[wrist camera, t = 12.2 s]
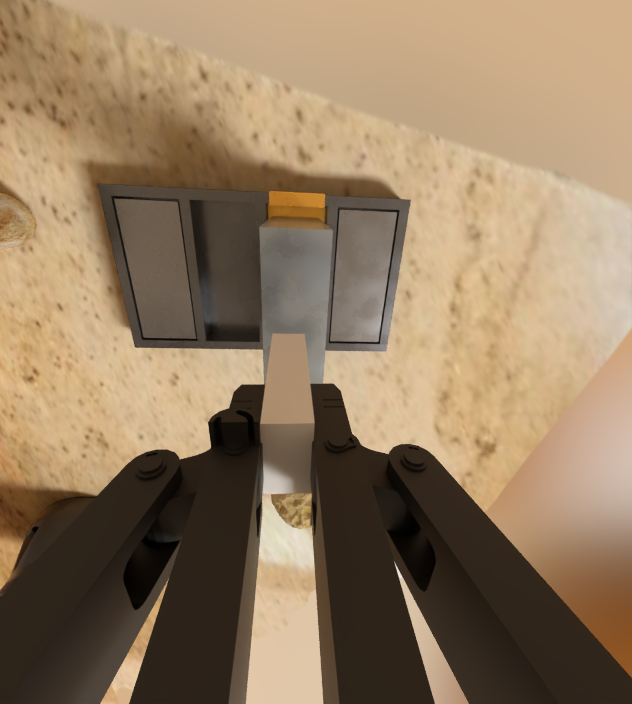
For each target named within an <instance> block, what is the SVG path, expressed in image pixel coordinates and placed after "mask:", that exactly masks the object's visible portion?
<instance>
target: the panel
mask: <svg viewBox="0 0 632 704" xmlns="http://www.w3.org/2000/svg"><path fill="white" fill-rule="evenodd" d="M259 233H260V265H261V297H262V329H263V361H264V385H265V384H266V377H267V370H268V362H269V355H270V348H271V340H272V333H279V334H305V341H306V350H307V359H308V368H309V377H310V384H323V376H324V361H325V345H326V330H327V315H328V299H329V284H330V269H331V254H332V238H333V230H332V229H331V228H330V227H329V226H327V225H326V224H325V223H324V222H323V221H322V220H320V219H319V218H311V217H290V216H272V217H271V218H270V219H269V220H267V221H266V222H265V223H264V224H262V225H261V226H260V227H259Z"/></svg>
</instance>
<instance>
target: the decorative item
mask: <svg viewBox="0 0 632 704" xmlns="http://www.w3.org/2000/svg"><path fill="white" fill-rule="evenodd" d="M271 497H272V503H273V505H274V506H275V509H276V510H277V512H278V513H279V515H280V516H281V517H282V519H283V520H284V521H285V522H286V523H287V524H288V525H291V526H292V527H294V528H298V529H304V528H308V527H309V528H312V526H310V517H311V499H312V494H311V493H291V494H271Z"/></svg>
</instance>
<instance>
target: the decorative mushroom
mask: <svg viewBox="0 0 632 704" xmlns="http://www.w3.org/2000/svg"><path fill="white" fill-rule="evenodd" d="M36 226H37V225H36V221H35V218H34V217H33V215H32V213H31V212H30V211H29V209H28V208H27V207H26V206H25V205H23V204H22V203H21V202H20V201H18V200H17V199H15V198H13V197H11V196H9V195H7V194H3V193H0V249H4V248H11V247H15V246H19V245H22V244H24V243H26V242H27V241H29V240H30V239H31V238H32V237H33V235H34V232H35V229H36Z"/></svg>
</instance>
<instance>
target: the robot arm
mask: <svg viewBox="0 0 632 704" xmlns="http://www.w3.org/2000/svg"><path fill="white" fill-rule="evenodd" d="M208 425H209V433H210V441H211V449H210V450H208V451H206V452H204V453H202V454H199V455H196V456H192V457H188V458H184V459H180V460H179V457H178V456H177V455H176V453H175V452H172V451H169V450H153V451H149V452H146V453H144V454H142V455H139V456H137V457H136V458H134V459H133V460H132V461H131V462H129V463H128V464H127V465H126V466H125V467H124V468H123V469H122V470H121V471H120V473H119V474H118V475H117V476H116V477H115V478H114V479H113V480H112V481H111V482H110V483H109V484H108V485H107V486H106V487H105V488H104V489H103V490H102V491H101V492H100V494H99V495H98V496H97V497H96V498H85V497H81V498H70V499H65V500H61V501H58V502H56V503H53V504H51V505H50V506H48V507H47V508H46V509H45V510H44V511H43V512H42V513H41V514H40V515H39V517H38V518H37V519H36V520H35V522H34V523H33V524H32V525H31V527H30V529H29V530H28V532H27V535H26V538H25V540H24V542H23V545H22V547H21V550H20V553H19V555H18V558H17V560H16V563H15V565H14V568H13V570H12V573H11V575H10V577H9V579H8V581H7V582H6V584H5V585H4V586H3V588H2V589H1V590H0V704H100V703H101V701H102V699H103V697H104V695H105V694H106V692H107V690H108V688H109V686H110V685H111V683H112V681H113V679H114V677H115V675H116V674H117V672H118V670H119V668H120V666H121V664H122V663H123V661H124V659H125V657H126V655H127V653H128V652H129V650H130V648H131V646H132V644H133V643H134V641H135V639H136V637H137V635H138V633H139V632H140V630H141V628H142V626H143V624H144V622H145V621H146V619H147V617H148V615H149V613H150V612H151V610H152V608H153V606H154V604H155V602H156V601H157V599H158V597H159V595H160V593H161V591H162V590H163V588H164V586H165V584H166V582H167V581H168V579H169V581H168V584H167V587H166V590H165V593H164V596H163V599H162V602H161V606H160V609H159V612H158V615H157V618H156V621H155V624H154V628H153V631H152V634H151V637H150V640H149V643H148V646H147V649H146V653H145V656H144V659H143V662H142V665H141V668H140V671H139V675H138V678H137V681H136V684H135V687H134V690H133V693H132V696H131V700H130V703H129V704H246V692H247V681H248V670H249V658H250V647H251V636H252V624H253V613H254V601H255V590H256V578H257V567H258V555H259V544H260V532H261V521H262V492H263V494H291V493H311V494H312V499H311V517H310V526H312V532H313V548H314V563H315V579H316V594H317V609H318V625H319V641H320V656H321V671H322V687H323V703H324V704H435V703H434V699H433V696H432V692H431V689H430V685H429V682H428V678H427V675H426V671H425V668H424V664H423V661H422V657H421V654H420V651H419V647H418V643H417V640H416V636H415V633H414V629H413V626H412V622H411V619H410V615H409V612H408V608H407V605H406V601H405V598H404V594H403V591H402V588H401V584H400V581H399V577H398V573H397V570H396V566H395V563H396V565H397V567H398V569H399V571H400V573H401V575H402V577H403V578H404V580H405V582H406V584H407V586H408V588H409V590H410V592H411V594H412V596H413V598H414V599H415V601H416V603H417V605H418V607H419V609H420V611H421V613H422V615H423V616H424V619H425V620H426V622H427V624H428V626H429V628H430V630H431V632H432V634H433V636H434V637H435V639H436V641H437V643H438V645H439V647H440V649H441V651H442V653H443V655H444V657H445V659H446V660H447V662H448V664H449V666H450V668H451V670H452V672H453V674H454V676H455V677H456V680H457V681H458V683H459V685H460V687H461V689H462V691H463V693H464V695H465V697H466V699H467V701H468V702H469V704H632V678H631V677H630V676H629V675H628V673H627V672H626V671H625V670H624V669H623V668H622V667H621V666H620V664H619V663H618V662H617V661H616V660H615V659H614V658H613V657H612V656H611V654H610V653H609V652H608V651H607V650H606V649H605V648H604V646H603V645H602V644H601V643H600V642H599V641H598V640H597V639H596V638H595V636H594V635H593V634H592V633H591V632H590V631H589V630H588V628H587V627H586V626H585V625H584V624H583V623H582V622H581V621H580V620H579V618H578V617H577V616H576V615H575V614H574V613H573V612H572V611H571V610H570V609H569V607H568V606H567V605H566V604H565V603H564V602H563V600H562V599H561V598H560V597H559V596H558V595H557V594H556V593H555V592H554V590H553V589H552V588H551V587H550V586H549V585H548V584H547V582H546V581H545V580H544V579H543V578H542V577H541V576H540V575H539V574H538V572H537V571H536V570H535V569H534V568H533V567H532V566H531V564H530V563H529V562H528V561H527V560H526V559H525V558H524V557H523V556H522V554H521V553H520V552H519V551H518V550H517V549H516V548H515V547H514V545H513V544H512V543H511V542H510V541H509V540H508V539H507V538H506V536H505V535H504V534H503V533H502V532H501V531H500V530H499V529H498V527H497V526H496V525H495V524H494V523H493V522H492V521H491V520H490V519H489V518H488V516H487V515H486V514H485V513H484V512H483V511H482V509H481V508H480V507H479V506H478V505H477V504H476V503H475V502H474V500H473V499H472V498H471V497H470V496H469V495H468V494H467V493H466V492H465V490H464V489H463V488H462V487H461V486H460V485H459V484H458V483H457V481H456V480H455V479H454V478H453V477H452V476H451V475H450V474H449V472H448V471H447V470H446V469H445V468H444V467H443V466H442V465H441V463H440V462H439V461H438V460H437V459H436V458H435V457H434V456H433V455H432V454H431V453H430V452H428V451H427V450H425V449H423V448H421V447H419V446H416V445H411V444H400V445H398V446H395V447H393V449H392V450H391V451H390V452H389V454H385V453H381V452H376V451H373V450H370V449H367V448H365V447H364V446H362V445H361V444H360V442H359V440H358V439H357V437H355V436H354V435H353V434H352V432H351V428H350V424H349V421H348V417H347V413H346V409H345V406H344V402H343V398H342V394H341V391H340V390H339V389H338V388H337V387H336V386H335V385H334V384H310V377H309V368H308V359H307V350H306V341H305V334H279V333H272V340H271V348H270V355H269V362H268V370H267V377H266V384H265V385H241V386H240V387H239V388H238V389H237V390H236V391H235V392H234V394H233V397H232V400H231V404H230V407H229V409H226V410H223V411H220V412H218V413H217V414H215V415H214V416H212V418H211V419H210V421H209V422H208ZM394 561H395V563H394Z"/></svg>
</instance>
